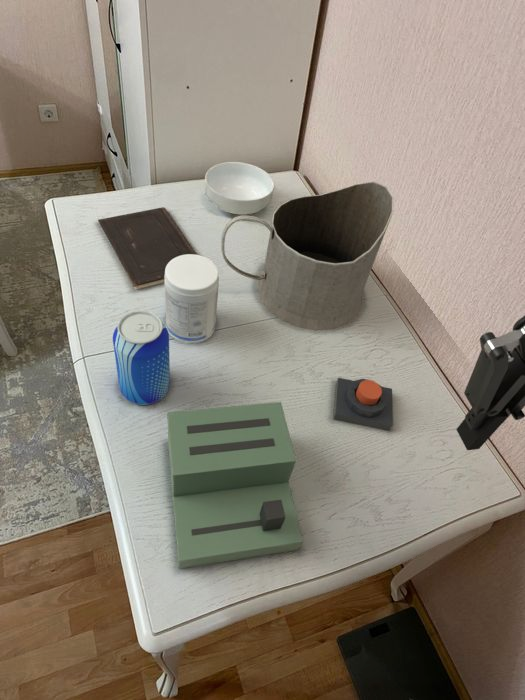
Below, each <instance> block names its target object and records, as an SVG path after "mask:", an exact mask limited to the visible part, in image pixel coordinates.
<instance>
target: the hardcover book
mask: <svg viewBox="0 0 525 700" xmlns="http://www.w3.org/2000/svg"><path fill="white" fill-rule="evenodd" d="M97 222H98V223H99V225H100V227H101V229H102V232H103V233H104V234H105V237H106V238H107V240H108V242H109V243H110V245H111V247H112V249H113V251H114V253H115V255H116V256H117V258H118V260H119V262H120V264H121V266H122V268H123V269H124V271H125V273H126V276H127V277H128V279H129V280H130V282H131V284H132V286H133V288H134V289H135V290H140V289H143V288H148V287H151V286H155V285H159V284H165V281H164V276H165V268H166V266H167V264H168V263H169V262H170V261H171V260H172V259H174V258H176V257H178V256H181V255H186V254H195V255H198V253H197V252H196V251H195V250H194V248H193V247H192V245H191V244H190V242H189V241H188V239H187V238H186V237H185V235H184V234H183V232H182V230H181V229H180V228H179V226H178V224H177V223H176V221H175V220H174V219H173V217H172V216H171V214H170V213H169V212H168V210H167V209H166V207H164V206H162V207H157V208H151V209H147V210H146V209H145V210H141V211H136V212H131V213H126V214H121V215H116V216H110V217H105V218H99V219H97Z"/></svg>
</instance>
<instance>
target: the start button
mask: <svg viewBox="0 0 525 700" xmlns="http://www.w3.org/2000/svg"><path fill="white" fill-rule="evenodd" d="M371 380H372V379H367V380H364V381H362V382H361V383H360V385H359V387H358V389H357V391H356V397H357V399H358V400H359V402H361V403H362V404H364V405H368V406H372V405H375V404H376V403H377V402H378V400H379V398H380V396H381V394H382V389H381V387H380V386H381V385H380V384H379V383H377V382H376V381H375V380H372V381H371ZM378 384H379V385H380V386H379V385H378Z"/></svg>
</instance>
